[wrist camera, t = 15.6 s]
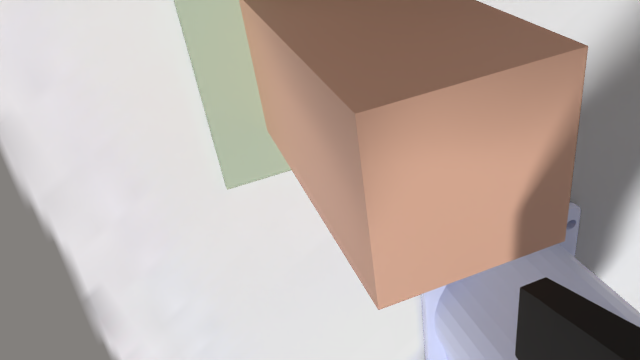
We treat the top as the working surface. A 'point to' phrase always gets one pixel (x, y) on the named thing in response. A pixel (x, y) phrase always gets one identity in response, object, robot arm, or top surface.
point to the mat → (229, 90)
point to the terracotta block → (421, 131)
